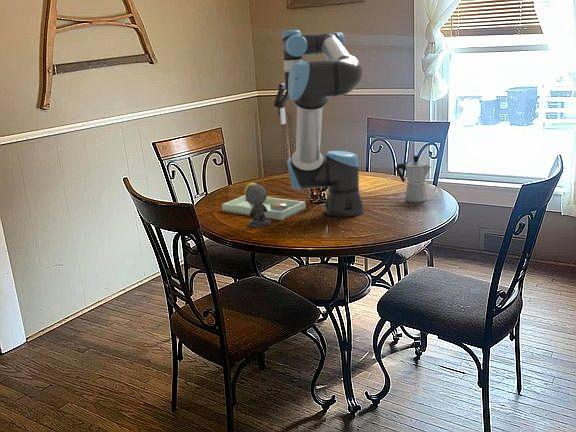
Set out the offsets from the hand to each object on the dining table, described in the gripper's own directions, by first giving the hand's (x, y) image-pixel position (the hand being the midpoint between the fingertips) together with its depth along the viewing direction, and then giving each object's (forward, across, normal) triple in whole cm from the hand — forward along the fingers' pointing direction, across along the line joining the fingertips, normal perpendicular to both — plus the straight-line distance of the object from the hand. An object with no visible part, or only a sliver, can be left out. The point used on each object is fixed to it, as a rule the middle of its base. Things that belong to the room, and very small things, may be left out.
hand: (297, 124), depth 238 cm
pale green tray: (+31, +5, +20) cm, 38 cm away
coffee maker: (+32, -44, -15) cm, 56 cm away
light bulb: (+31, +10, +20) cm, 38 cm away
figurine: (+32, -4, +35) cm, 48 cm away
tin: (+31, -3, +20) cm, 37 cm away
